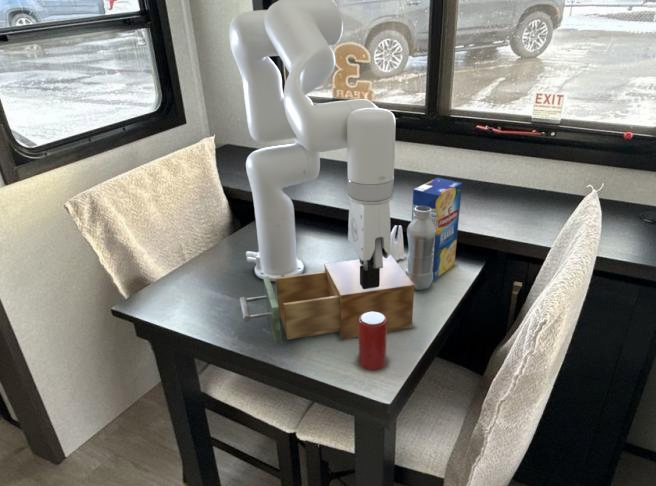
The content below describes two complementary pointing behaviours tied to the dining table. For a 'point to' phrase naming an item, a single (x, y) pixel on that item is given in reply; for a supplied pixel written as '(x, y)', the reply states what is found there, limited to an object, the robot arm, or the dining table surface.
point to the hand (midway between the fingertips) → (369, 285)
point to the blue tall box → (441, 219)
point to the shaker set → (396, 244)
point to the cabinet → (372, 295)
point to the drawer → (299, 305)
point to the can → (372, 340)
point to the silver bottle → (420, 248)
